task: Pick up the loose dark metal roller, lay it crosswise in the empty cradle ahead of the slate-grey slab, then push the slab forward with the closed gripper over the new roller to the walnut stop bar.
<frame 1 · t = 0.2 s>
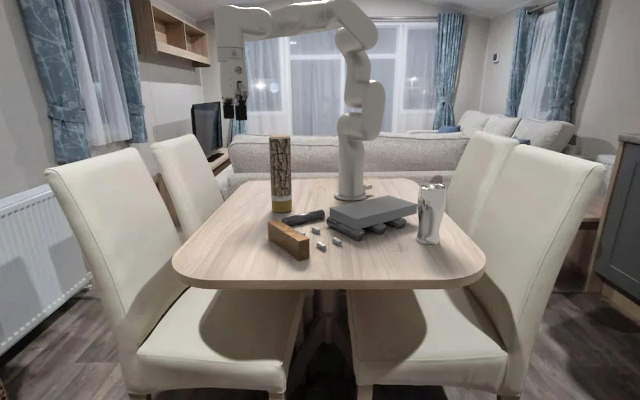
hand: (235, 119, 101), 31 cm above the table, tool pointing down, fingers open, 9 cm apart
beer glass: (427, 241, 93), on the table
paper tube: (282, 210, 118), on the table
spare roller: (303, 222, 107), on the table
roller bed: (350, 231, 99), on the table
slab: (373, 215, 104), point 3 cm above the table, touching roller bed
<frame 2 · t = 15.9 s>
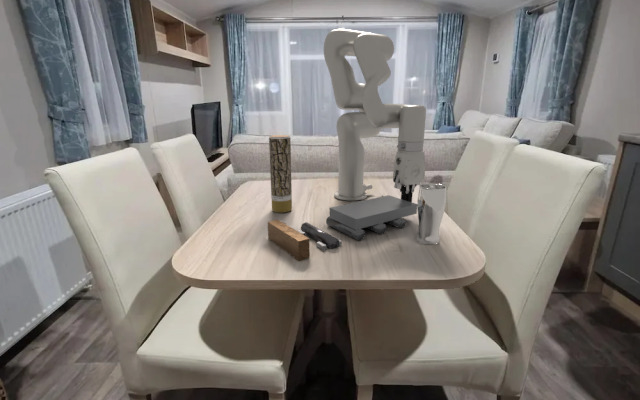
hand: (406, 204, 111), 4 cm above the table, tool pointing down, fingers closed
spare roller: (319, 240, 94), on the table, tilted 8°
slab: (373, 215, 104), point 3 cm above the table, touching gripper, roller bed
everything else where it was.
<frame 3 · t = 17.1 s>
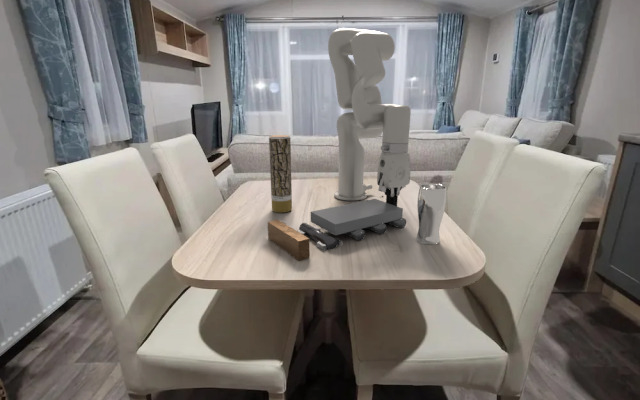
hand: (391, 207, 107), 4 cm above the table, tool pointing down, fingers closed
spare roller: (319, 239, 94), on the table, tilted 32°
slab: (357, 219, 100), point 3 cm above the table, touching gripper, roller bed
everything else where it was.
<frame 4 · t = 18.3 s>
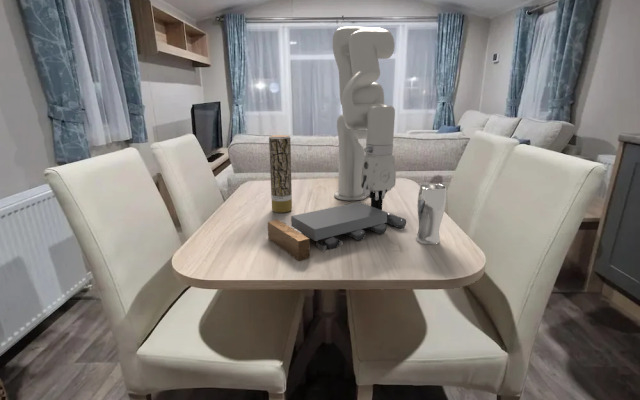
hand: (376, 211, 104), 4 cm above the table, tool pointing down, fingers closed
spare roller: (319, 239, 94), on the table, tilted 18°
slab: (339, 224, 96), point 3 cm above the table
everything else where it was.
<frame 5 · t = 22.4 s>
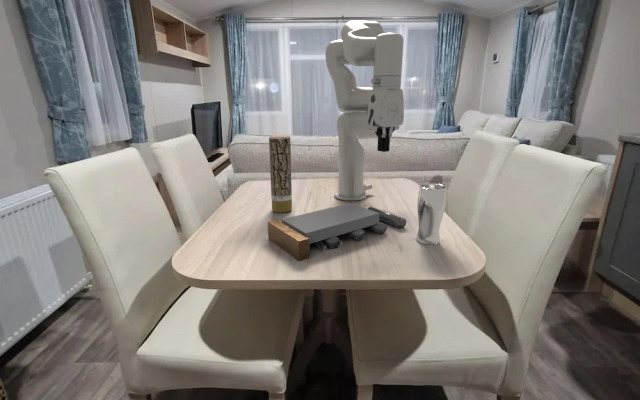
hand: (383, 150, 99), 22 cm above the table, tool pointing down, fingers closed
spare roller: (324, 233, 94), point 1 cm above the table, tilted 87°, touching slab
slab: (331, 226, 95), point 3 cm above the table, touching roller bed, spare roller
everything else where it was.
at the end: slab inside the target area (0.8 cm from its centre), point 2.9 cm above the table; slab tilted 1°; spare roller 2.4 cm from the slab (horizontally) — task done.
